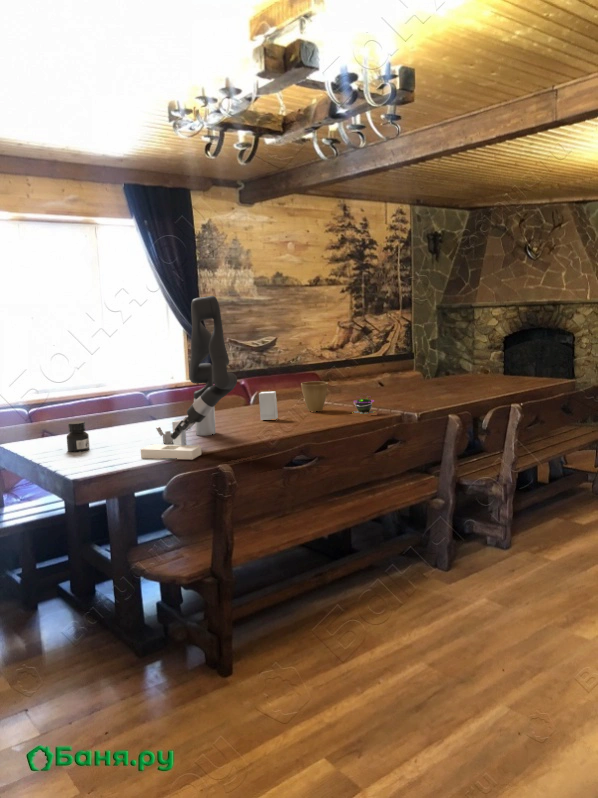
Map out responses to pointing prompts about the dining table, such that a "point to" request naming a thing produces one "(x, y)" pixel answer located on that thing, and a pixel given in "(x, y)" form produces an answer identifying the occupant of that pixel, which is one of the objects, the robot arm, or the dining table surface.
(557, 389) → the dining table surface
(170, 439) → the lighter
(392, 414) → the dining table surface
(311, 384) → the plant pot
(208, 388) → the robot arm
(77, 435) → the ink bottle
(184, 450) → the cream recessed block
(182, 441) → the pale grey rectangular block
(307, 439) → the dining table surface
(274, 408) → the skincare box
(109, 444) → the dining table surface
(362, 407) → the toy cauldron
